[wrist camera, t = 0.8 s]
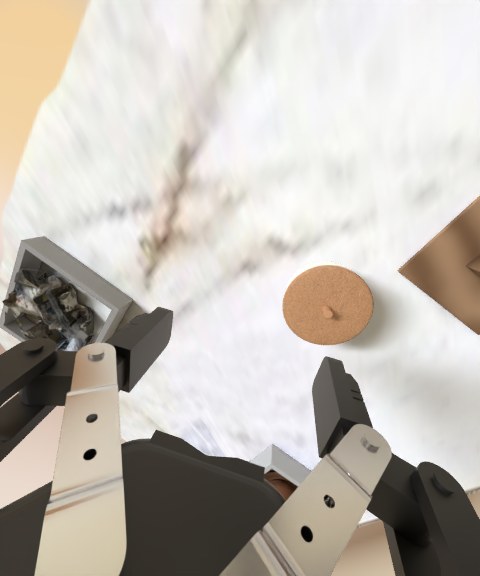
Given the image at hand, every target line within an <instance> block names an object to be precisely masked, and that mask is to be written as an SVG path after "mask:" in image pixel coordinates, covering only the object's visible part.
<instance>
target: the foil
mask: <svg viewBox="0 0 480 576" xmlns="http://www.w3.org/2000/svg"><path fill="white" fill-rule="evenodd" d="M29 270H31V271H40V270H36V269H32V268H27V267H25V268H22V269H21V270H19V271H18V272H17V273H16V276H15V280H14V282H16V284H17V285H16V287H15V289H14V290H13V291H12V292H11V293H9V294H8V298H7V299H6V300H4V301H3V303H4V305H5V306H8V308H11V309H12V310H13V312H12V314H13V315H14V316H15V317H16V319H17V321H18V323H19V320H18V318H17V317H18V316H19V315H20V314H21V313H22V312H24V313H27V314H29V315H31V316H33V317H35V318H37V319H39V320H42V321H41V322H39V323H38V324H36V325H34V326H33V327H31V328H30V329H28V330H26V331H25V332H24V331H23V329H22V328H21V325H22V324H20V323H19V324H20V327H19V329H21V332H22V333H24V337H25V338H27V339H28V338H29V339H35V338H47V339H51V340H53V341H55V342H56V345H57V350H61V351H79V350H80V349H81V348H83V347H84V346H85V345H86V344H87V343H88V342H89V340H90V339H91V338H92V336H93V335H94V334H93V330H94V327H93V314H92V312H91V309H90V307H85V306H82V305H80V304H77V296H76V292H75V290H74V289H73V287H72V285H71V283H70V284H62V283H61V281H60V280H59V279H58V278H56V277H55V276H54V275H52V276H50V277H47V274H46V272H45V273H44V274H43V275H42V276H41V277H40V278H39V279H37V278H36V277H34V276H33V275H32V274H31V272H30V271H29ZM52 274H53V273H52ZM44 277H45V279H43V278H44ZM6 314H7V313H6V312H5V323H6ZM80 317H82V318H80Z"/></svg>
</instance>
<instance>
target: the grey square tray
mask: <svg viewBox="0 0 480 576" xmlns="http://www.w3.org/2000/svg"><path fill="white" fill-rule="evenodd" d="M250 462H251V463H253V464H256V465H259V466H262V467H265V471H264V474H265V473H266V472H268V471H269V470H271V469H273V470H275V471H276V472H278V473H279V474H281V475H282V476H283V477H285V478H286V479H288V480H289V481H291V482H292V483H294V484H295V485H297V486H298V487H299V485H300V484H301V483H302V482H303V481H304V480H305V478H306V477H307V476H308V475H309V474H310V473H311V472H312V471H310V470H309V469H307V468H306V467H304V466H303V465H302V464H300V463H299V462H297V461H296V460H294V459H293V458H292V457H290V456H289V455H287V454H286V453H284V452H283V451H282V450H280V449H279V448H277V447H276V446H274V445H273V444H272V445H271V446H269V447H268V448H267V449H265V450H264V451H263V452H261V453H260V454H259V455H258V456H256V457H255V458H254V459H252V460H251V461H250Z"/></svg>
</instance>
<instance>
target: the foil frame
mask: <svg viewBox="0 0 480 576" xmlns="http://www.w3.org/2000/svg"><path fill="white" fill-rule="evenodd" d="M42 261H43V262H45V263H46V264H47V265H49V266H50V267H52V268H53V269H55V270H56V271H57V272H59V273H60V274H62V275H63V276H65V277H66V278H67V279H69V280H70V281H72V282H73V283H74V284H76V285H77V286H79V287H80V288H82V289H83V290H84V291H86V292H87V293H89V294H90V295H91V296H93V297H94V298H96V299H97V300H99V301H100V302H101V303H103V304H104V305H106V306H107V307H109V308H110V309H111V310H112V311H111V313H110V314H109V316H108V318H107V320H106V322H105V324H104V326H103V328H102V330H101V331H100V333H99V335H98V337H97V339H96V341H95V343H104V342H106V341H107V340H108V339H109V338H111V337H112V336H113V334H114V333H115V331H116V329H117V327H118V326H119V324H120V322H121V320H122V319H123V317H124V315H125V313H126V311H127V310H128V308H129V306H130V304H131V303H132V301H133V299H131V298H130V297H128V296H127V295H126V294H124V293H123V292H121V291H120V290H119V289H117V288H116V287H114V286H113V285H112V284H110V283H109V282H107V281H106V280H105V279H103V278H102V277H100V276H99V275H98V274H96V273H95V272H93V271H92V270H91V269H89V268H88V267H86V266H85V265H84V264H82V263H81V262H79V261H78V260H77V259H75V258H74V257H72V256H71V255H69V254H68V253H67V252H65V251H64V250H62V249H61V248H60V247H58V246H57V245H55V244H54V243H53V242H51V241H50V240H48V239H47V238H46V237H44V236H43V237H38V238H32V239H26V240H21V244H20V247H19V251H18V255H17V258H16V262H15V266H14V269H13V273H12V277H11V280H10V284H9V288H8V291H7V295H6V299H7V298H8V294H9V293H11V292H12V291H13V290H14V289H15V287H16V285H17V284H16V282H14V280H15V276H16V273H17V272H18V271H19V270H21V269H22V268H25V267H27V268H32V269H36V270H39V268H40V265H41V262H42ZM29 271H30V272H31V274H32V275H33V276H34V277H36V278H37V274H38V271H31V270H29ZM6 299H5V300H6ZM5 312H6V313H7V314H6V323H5ZM12 312H13V310H12V309H11V308H8V306H5V305H4V306H3V309H2V313H1V317H0V328H2V329H3V330H5V331H6V332H8V333H9V334H11V335H12V336H14V337H15V338H17V339H18V340H20V341H21V342H24V341H27V340H30V339H29V338H28V339H27V338H25V337H24V333H22V332H21V329H19V327H20V324H22V325H21V328H22V329H23V331H24V332H25V331H26V330H28V329H30V328H31V327H33V326H34V325H36V324H35V323H33V322H32V321H30V320H29V319H27V318H26V317H24V314H25V313H24V312H22V313H21V314H20V315H19V316H18V317H17V318H18V320H19V323H20V324H19V323H18V321H17V319H16V317H15V316H14V315H13V314H12Z"/></svg>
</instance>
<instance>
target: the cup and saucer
mask: <svg viewBox="0 0 480 576" xmlns="http://www.w3.org/2000/svg"><path fill="white" fill-rule="evenodd" d="M264 479H266V480H267V481H269V482H270V483H271V484H272V485H273V486H274V487H275V488H276V489H277V490H278V491H279V492H280V493H281V495H282V496H283V497H284V499H285V500H286V501H287V499H288V498H289V497H290V496H291V495H292V494H293V492H294V491H295V490H296V489H297V488H298V486H297V485H295V484H294V483H292V482H291V481H289V480H288V479H286V478H285V477H283V476H282V475H281V474H279V473H278V472H266V473H265V474H264Z"/></svg>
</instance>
